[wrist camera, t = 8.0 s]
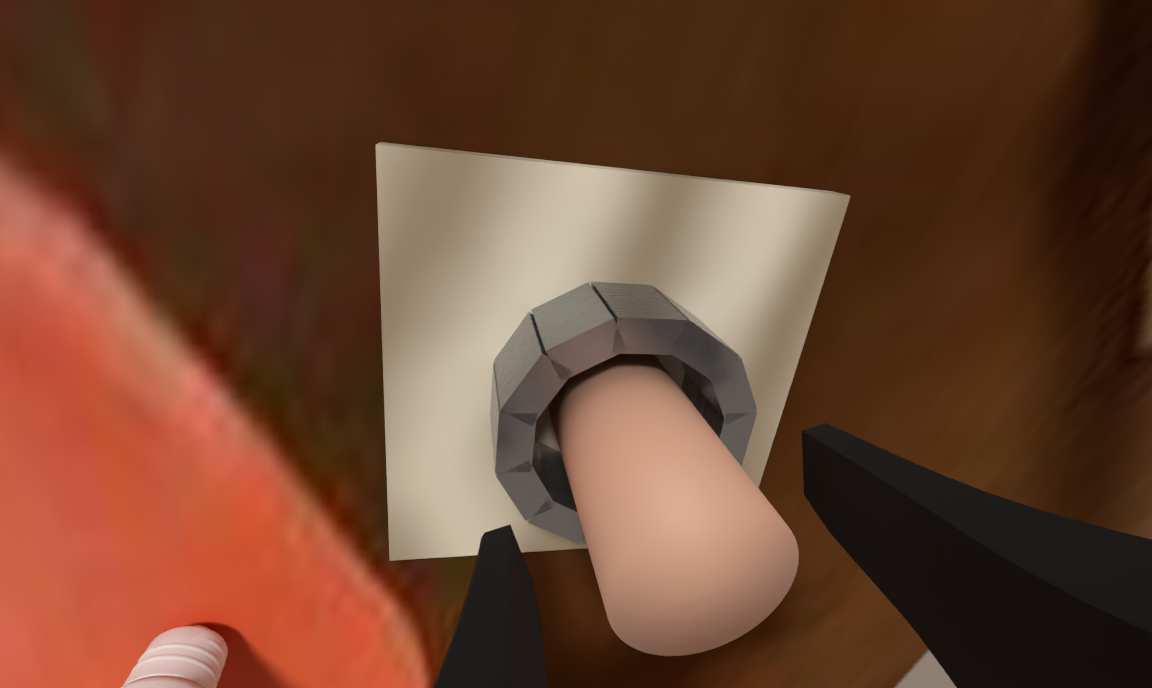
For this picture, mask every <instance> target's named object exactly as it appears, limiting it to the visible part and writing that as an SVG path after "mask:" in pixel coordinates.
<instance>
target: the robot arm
mask: <svg viewBox="0 0 1152 688" xmlns="http://www.w3.org/2000/svg"><path fill="white" fill-rule="evenodd" d="M802 447H803V476H804V495H805V497H806V498H807V500H808V501H809V503H810V504H811V506H812V507H813V509H814V510H815V512H816V513H817V515H818V516H819V518H820V519H821V520H822V522H823V523H824V525H825V526H826V527H827V529H828V530H829V532H830V533H831V534H832V535H833V536H834V538H835V539H836V540H837V541H838V542H839V543H840V545H841V546H842V547H843V548H844V549H845V550H846V552H847V553H848V554H849V555H850V556H851V557H852V558H853V560H854V561H855V562H856V563H857V564H858V565H859V566H860V568H861V569H862V570H863V571H864V572H865V573H866V574H867V575H868V577H869V578H870V579H871V580H872V581H873V582H874V583H875V585H876V586H877V587H878V588H879V589H880V590H881V591H882V592H883V594H884V595H885V596H886V597H887V598H888V599H889V600H890V602H891V603H892V604H893V605H894V606H895V607H896V608H897V610H898V611H899V612H900V613H901V614H902V615H903V617H904V618H905V619H906V620H907V621H908V623H909V624H910V625H911V626H912V628H913V629H914V630H915V631H916V632H917V634H918V635H919V636H920V638H921V639H922V640H923V642H924V643H925V645H926V646H927V647H928V649H929V650H930V651H931V653H932V654H933V655H934V657H935V658H936V659H937V661H938V662H939V664H940V665H941V666H942V667H943V669H944V670H945V672H946V673H947V674H948V675H949V677H950V679H951V680H952V681H953V683H954V684H955V686H956V687H957V688H1152V540H1151V539H1147V538H1143V537H1139V536H1134V535H1130V534H1126V533H1122V532H1118V531H1114V530H1110V529H1106V528H1102V527H1099V526H1095V525H1091V524H1087V523H1084V522H1080V521H1076V520H1072V519H1069V518H1065V517H1062V516H1058V515H1055V514H1052V513H1048V512H1045V511H1042V510H1038V509H1035V508H1032V507H1029V506H1026V505H1023V504H1020V503H1017V502H1014V501H1011V500H1008V499H1005V498H1002V497H999V496H996V495H993V494H990V493H988V492H985V491H982V490H979V489H977V488H974V487H972V486H969V485H966V484H964V483H961V482H959V481H956V480H954V479H951V478H948V477H946V476H943V475H941V474H939V473H936V472H934V471H931V470H929V469H927V468H924V467H922V466H920V465H917V464H915V463H913V462H910V461H908V460H906V459H904V458H901V457H899V456H897V455H895V454H892V453H890V452H888V451H886V450H884V449H881V448H879V447H877V446H875V445H873V444H870V443H868V442H866V441H864V440H862V439H860V438H857V437H855V436H853V435H851V434H849V433H847V432H844V431H842V430H840V429H838V428H835V427H833V426H831V425H828V424H826V423H825V424H822V425H819V426H816V427H812V428H809V429H806V430H803V431H802ZM433 688H547V681H546V669H545V657H544V645H543V634H542V626H541V620H540V615H539V609H538V604H537V599H536V593H535V588H534V583H533V581H532V578H531V576H530V573H529V571H528V568H527V566H526V563H525V561H524V558H523V555H522V553H521V550H520V548H519V545H518V543H517V540H516V538H515V535H514V532H513V530H512V527H511V525H507V526H504V527H500V528H497V529H494V530H491V531H488V532H485V533H484V534H483V536H482V537H481V541H480V546H479V551H478V555H477V559H476V563H475V567H474V571H473V575H472V578H471V582H470V585H469V589H468V592H467V595H466V599H465V602H464V605H463V608H462V611H461V614H460V618H459V621H458V624H457V627H456V629H455V632H454V635H453V638H452V640H451V643H450V646H449V648H448V651H447V654H446V656H445V659H444V662H443V664H442V667H441V669H440V672H439V674H438V677H437V679H436V681H435V684H434V686H433Z"/></svg>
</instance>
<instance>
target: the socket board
mask: <svg viewBox="0 0 1152 688" xmlns="http://www.w3.org/2000/svg"><path fill="white" fill-rule="evenodd" d="M376 170H377V200H378V229H379V259H380V288H381V318H382V348H383V377H384V407H385V437H386V466H387V496H388V526H389V555H390V561H392V560H408V559H424V558H439V557H455V556H471V555H478V551H479V546H480V541H481V537H482V536H483V534H484V533H485V532H488V531H491V530H494V529H497V528H500V527H504V526H507V525H511V527H512V530H513V532H514V535H515V538H516V540H517V543H518V545H519V548H520V550H521V552H535V551H551V550H567V549H583V548H588V547H587V543H586V539H585V536H584V532H583V529H582V525H581V522H580V518H579V515H578V511H577V508H576V504H575V501H574V497H573V494H572V490H571V487H570V483H569V480H568V476H567V473H566V469H565V466H564V462H563V458H562V455H561V451H560V448H559V444H558V441H557V437H556V434H555V430H554V427H553V423H552V420H551V416H550V413H549V409H548V404H549V403H550V402H551V401H552V399H553V398H554V397H555V395H556V394H557V393H558V391H559V390H560V389H561V388H562V386H563V385H564V384H565V382H566V381H567V380H568V378H570V377H572V376H574V375H576V374H578V373H580V372H582V371H585V370H587V369H589V368H591V367H593V366H595V365H597V364H599V363H601V362H603V361H605V360H608V359H610V358H612V357H614V356H616V355H618V354H654V355H655V356H656V357H657V359H658V360H659V361H660V363H661V364H662V365H663V366H664V368H665V369H666V370H667V372H668V373H669V374H670V375H671V377H672V378H673V379H674V381H675V382H676V383H677V384H678V386H679V387H680V388H681V390H682V391H683V392H684V393H685V395H686V396H687V397H688V399H689V400H690V401H691V402H692V404H693V405H694V406H695V408H696V409H697V410H698V411H699V413H700V414H701V415H702V417H703V418H704V419H705V420H706V422H707V423H708V424H709V426H710V427H711V428H712V429H713V431H714V432H715V433H716V435H717V436H718V437H719V438H720V440H721V441H722V442H723V444H724V445H725V446H726V447H727V449H728V450H729V451H730V453H731V454H732V455H733V456H734V458H735V459H736V460H737V462H738V463H739V464H740V465H741V467H742V468H743V469H744V471H745V472H746V473H747V474H748V476H749V477H750V478H751V480H752V481H753V482H754V483H755V485H756V486H757V487H759V484H760V481H761V478H762V475H763V472H764V468H765V465H766V462H767V459H768V456H769V453H770V449H771V446H772V443H773V440H774V437H775V434H776V430H777V427H778V424H779V421H780V418H781V415H782V411H783V408H784V405H785V402H786V399H787V396H788V392H789V389H790V386H791V383H792V380H793V377H794V373H795V370H796V367H797V364H798V361H799V358H800V354H801V351H802V348H803V345H804V342H805V339H806V335H807V332H808V329H809V326H810V323H811V320H812V316H813V313H814V310H815V307H816V304H817V301H818V297H819V294H820V291H821V288H822V285H823V282H824V278H825V275H826V272H827V269H828V266H829V263H830V259H831V256H832V253H833V250H834V247H835V244H836V241H837V237H838V234H839V231H840V228H841V225H842V222H843V218H844V215H845V212H846V209H847V206H848V203H849V199H850V195H845V194H841V193H836V192H832V191H824V190H815V189H806V188H797V187H788V186H778V185H769V184H760V183H751V182H742V181H733V180H723V179H714V178H705V177H696V176H687V175H678V174H668V173H659V172H650V171H641V170H632V169H623V168H613V167H604V166H595V165H586V164H577V163H568V162H558V161H549V160H540V159H531V158H522V157H513V156H503V155H494V154H485V153H476V152H467V151H458V150H448V149H439V148H430V147H421V146H412V145H403V144H393V143H384V142H381V143H378V144H376Z"/></svg>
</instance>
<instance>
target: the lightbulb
mask: <svg viewBox="0 0 1152 688" xmlns="http://www.w3.org/2000/svg"><path fill="white" fill-rule="evenodd" d="M227 655H228V648H227V645H226V643H225V641H224V639H223V638H222V637H221V636H220V635H219V634H218V633H216V632H215V631H213V630H210V629H209V628H207V627H205V626H200V625H195V626H181V627H177V628H173V629H170V630H168V631H166V632H164V633H162V634H160V635H159V636H157V637H156V638H155V639H154V640H153V641H152V642H151V644H150V645H149V647H148V648H147V650H146V651H145V653H144V654H143V655H142V656H141V657H140V659H139V661H138V663H137V665H136V666H135V667H134V668H133V670H132V671H131V673H130V676H129V677H128V679H127V680H126V682H125V683H124V685H123V686H122V687H120V688H216V687H217V682H218V681H219V678H220V676H221V671H222V670H223V667H224V665H225V661H226V658H227Z"/></svg>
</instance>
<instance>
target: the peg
mask: <svg viewBox="0 0 1152 688" xmlns="http://www.w3.org/2000/svg"><path fill="white" fill-rule="evenodd" d="M548 409H549V413H550V416H551V420H552V423H553V427H554V430H555V434H556V437H557V441H558V444H559V448H560V451H561V455H562V458H563V462H564V466H565V469H566V473H567V476H568V480H569V483H570V487H571V490H572V494H573V497H574V501H575V504H576V508H577V511H578V515H579V518H580V522H581V525H582V529H583V532H584V536H585V539H586V543H587V547H588V550H589V554H590V557H591V561H592V564H593V568H594V571H595V575H596V578H597V582H598V585H599V589H600V592H601V596H602V599H603V603H604V606H605V610H606V613H607V617H608V620H609V622H610V625H611V627H612V629H613V630H614V632H615V633H616V635H617V636H618V637H619V638H620V639H621V640H622V641H623V642H625V643H626V644H628V645H629V646H631V647H633V648H635V649H637V650H639V651H642V652H645V653H649V654H654V655H661V656H682V655H690V654H695V653H700V652H704V651H707V650H711V649H714V648H717V647H719V646H722V645H724V644H727V643H729V642H731V641H733V640H735V639H737V638H739V637H740V636H742V635H744V634H745V633H747V632H749V631H750V630H751V629H753V628H754V627H756V626H757V625H758V624H759V623H761V622H762V621H763V620H764V619H765V618H767V617H768V616H769V615H770V614H771V613H772V612H773V611H774V610H775V608H776V607H777V606H778V605H779V604H780V602H781V601H782V600H783V598H784V597H785V595H786V594H787V592H788V591H789V589H790V587H791V585H792V583H793V581H794V578H795V575H796V572H797V567H798V559H799V553H798V545H797V542H796V539H795V537H794V535H793V533H792V531H791V530H790V528H789V527H788V526H787V524H786V523H785V522H784V521H783V519H782V518H781V517H780V515H779V514H778V513H777V512H776V510H775V509H774V508H773V506H772V505H771V504H770V503H769V501H768V500H767V499H766V498H765V496H764V495H763V494H762V492H761V491H760V490H759V489H758V487H757V486H756V485H755V483H754V482H753V481H752V480H751V478H750V477H749V476H748V474H747V473H746V472H745V471H744V469H743V468H742V467H741V465H740V464H739V463H738V462H737V460H736V459H735V458H734V456H733V455H732V454H731V453H730V451H729V450H728V449H727V447H726V446H725V445H724V444H723V442H722V441H721V440H720V438H719V437H718V436H717V435H716V433H715V432H714V431H713V429H712V428H711V427H710V426H709V424H708V423H707V422H706V420H705V419H704V418H703V417H702V415H701V414H700V413H699V411H698V410H697V409H696V408H695V406H694V405H693V404H692V402H691V401H690V400H689V399H688V397H687V396H686V395H685V393H684V392H683V391H682V390H681V388H680V387H679V386H678V384H677V383H676V382H675V381H674V379H673V378H672V377H671V375H670V374H669V373H668V372H667V370H666V369H665V368H664V366H663V365H662V364H661V363H660V361H659V360H658V359H657V357H656V356H655V355H654V354H618V355H616V356H614V357H612V358H610V359H608V360H605V361H603V362H601V363H599V364H597V365H595V366H593V367H591V368H589V369H587V370H585V371H582V372H580V373H578V374H576V375H574V376H572V377H570V378H568V380H567V381H566V382H565V384H564V385H563V386H562V388H561V389H560V390H559V391H558V393H557V394H556V395H555V397H554V398H553V399H552V401H551V402H550V403H549V404H548Z"/></svg>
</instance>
